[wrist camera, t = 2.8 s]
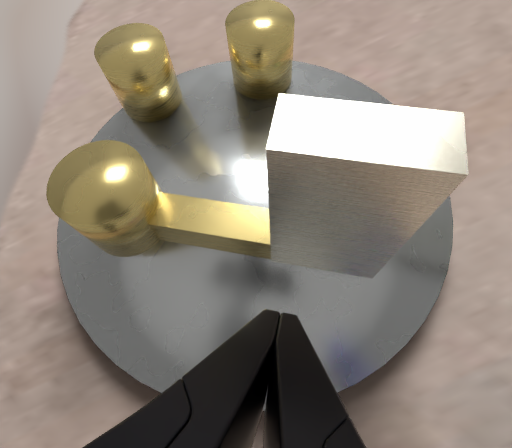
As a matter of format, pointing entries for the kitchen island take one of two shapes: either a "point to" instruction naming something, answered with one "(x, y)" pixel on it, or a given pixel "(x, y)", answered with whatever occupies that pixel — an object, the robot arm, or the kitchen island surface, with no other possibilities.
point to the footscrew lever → (283, 189)
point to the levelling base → (239, 192)
